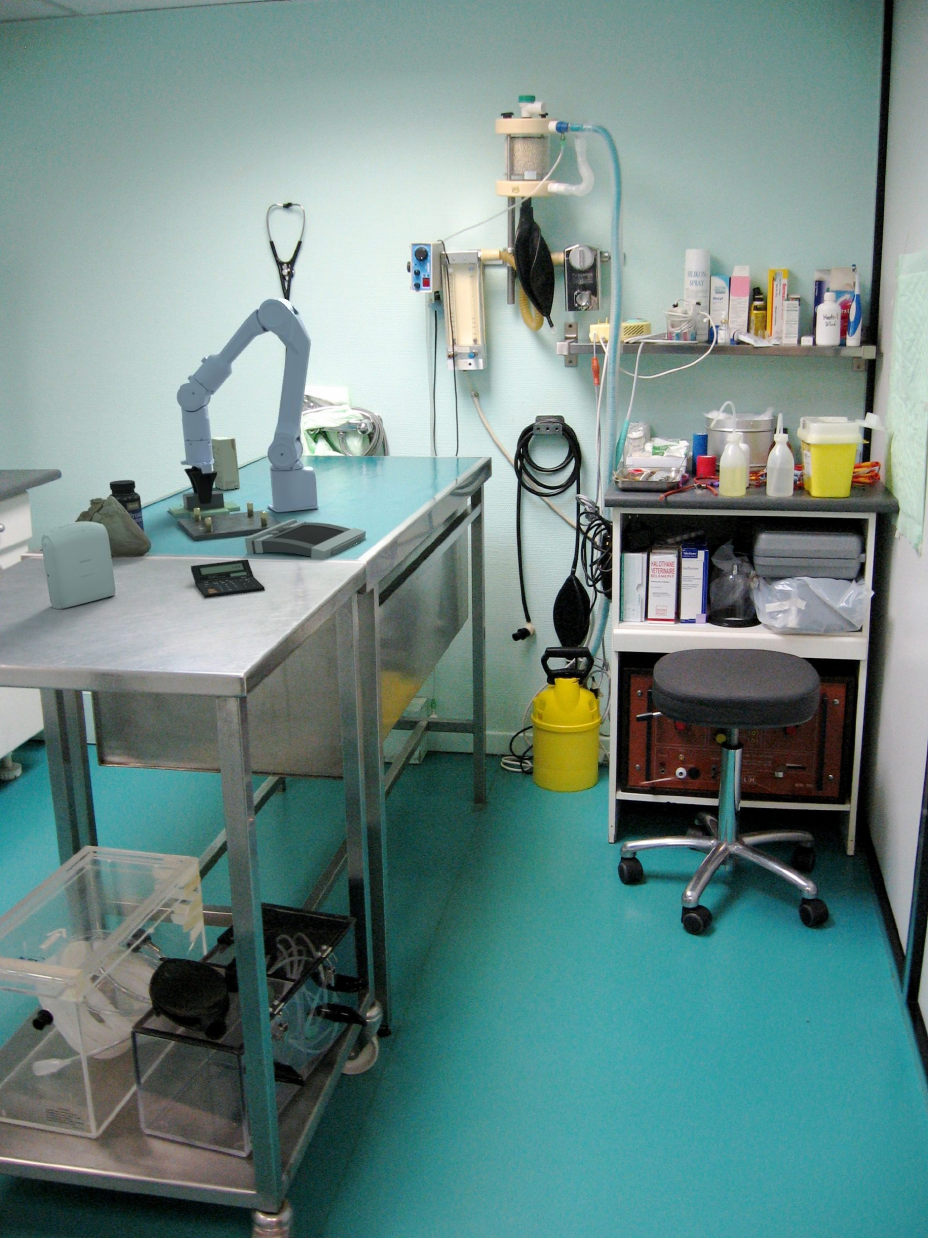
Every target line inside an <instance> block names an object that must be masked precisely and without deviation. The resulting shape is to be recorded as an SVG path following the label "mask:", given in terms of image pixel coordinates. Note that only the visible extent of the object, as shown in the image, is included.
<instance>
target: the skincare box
mask: <svg viewBox="0 0 928 1238" xmlns="http://www.w3.org/2000/svg"><path fill="white" fill-rule="evenodd" d="M211 442H212V453H213V459H214V463H213V464H212V471H217V476H216V478H215V481H214V487H215V488H216V487H217V488H216V489H219V488H220V490H223V491H224V490H225V491H227V489H228V490H234V489H235V488H237V489H240V488H241V486H240V485H241V483H240V473H239V464H238V463H239V461H238V454H237V453H238V452H237V443H236V438H235V437H230V436H219V437H218V436H217V437H211Z"/></svg>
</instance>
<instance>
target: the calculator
mask: <svg viewBox="0 0 928 1238" xmlns="http://www.w3.org/2000/svg"><path fill="white" fill-rule="evenodd" d="M251 567H252V566H251V565H250V562H249V559H248V558H247V559H245V558H244V559H239V560H230V561H222V562H213V563H204V564H196V565H190V571H191V574H192V577H193V580H194V583H195V584H194V585H195V587H196V588H197V589H198V591H199V592H200V594H201V595H202V596H203V597H204V599H210V598H217V597H218V598H219V597H225V596H226V597H227V596H233V595H243V594H248V593H255V592H257V593H259V592H263V591H264V592H265V589H266V588H265V586H264V585H263V584H262V583H261V581H259V580H258V579H257V578H256V577H255V576H254V573H253V570H252V568H251Z"/></svg>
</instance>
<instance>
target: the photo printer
mask: <svg viewBox="0 0 928 1238" xmlns="http://www.w3.org/2000/svg"><path fill="white" fill-rule="evenodd" d="M41 550H42V556H43V557H42V558H43V563H44V569H45V570H44V571H45V576H46V582H47V590H48V595H49V602H50V604H51V607H52V608H53V609H56V610H63V609H67V608H71V607H75V606H78V605H82V604H86V603H89V602H95V601H98V600H101V599H106V598H109V597H112V596H115V595H116V593H117V591H116V583H115V574H114V568H113V567H114V566H113V560H112V556H111V551H110V544H109V537H108V533H107V530H106V528H105V527H104V525H103V524H99V523H95V522H86V521H83V522H75V521H74V522H68V523H64V524H62V525H59V526H57V527H54V528H52V529H51V530H49V531H47V532H46V533H44V534H43V535H42V537H41Z"/></svg>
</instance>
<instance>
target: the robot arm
mask: <svg viewBox="0 0 928 1238" xmlns="http://www.w3.org/2000/svg"><path fill="white" fill-rule="evenodd" d="M269 332H271V333H273V334H274V335H276V336H277V338H278V339H279V340H280V341H281V342H282V344H283V345H284V346H285V347H286V352H285V354H286V355H285V362H284V370H283V376H282V386H281V392H280V393H281V394H280V401H279V402H280V403H279V409H278V417H277V423H276V427H275V430H274V435H273V439H272V442H271V443H270V445H269V446H268V448H267V459H268V461H269V463H270V464H271V465H270V466H269V473H270V485H271V486H270V487H271V496H272V498H271V499H272V504H267V508H269V509H270V510H272V511H273V512H276V513H287V512H294V511H304V510H305V511H306V510H315V509H319V503H318V491H317V477H316V473H315V470H314V468H313V467H312V466H304V463H303V462H302V461H301V460H300V459H301V458H302V456H303V452H304V445H303V442H302V440H301V436H302V428H301V422H302V413H303V406H304V398H305V390H306V385H307V377H308V376H307V375H308V368H309V363H310V355H311V354H310V352H311V346H312V343H311V337H310V335H309V333H308V331H307V329H306V326H305V324H304V322H303V319H302V317H301V313H300V311H299V310H298V309H297V308H296V307H295V305H293V304H292V302H290V300H287V299H285V298H282V297H281V298H280V297H279V298H268V299H266V300H264V301H263V302H261V304H260V306H259V307H258V308H255V310H253V312H252V313H250V314H249V316H248V317H246V319H245V320H244V321H243V323H242V324H241V325H240V326H239V328H238V329H237V330H236V331H235V332H234V334H233V336H231V338H230V339H229V341H228V342H227V343H226V344H225V345H224V347H223V348H222V350H220V352H219V353H210V354H209V356H203V358H201V360H200V362H201V363H202V364H201V365H200V366H199V367H198V369H196V371H195V372H194V373H193V374H190V375H189V376H188V377H187V380H188V382H186V383H183V384H180V386H179V389H178V390H177V393H176V400H177V404H178V405H179V407H180V408H181V409H180V410H181V417H182V418H181V422H182V424H181V425H182V433H183V435H182V436H183V442H184V445H183V446H184V453H185V455H184V456H185V460H180V464H181V465H182V466H190V467H188V468H184V472H185V473H186V475H187V477H188V479H189V482H190V484H191V487H192V490H193V493H198V497H199V500H200V503H201V504H208V503H211V499H212V491H214V490H213V489H214V485H215V482H214V481H215V478H216V476H217V471H213V463H214V459H213V453H212V442H211V438H212V435H211V434H212V433H211V424H210V423H211V422H210V416H209V409H208V408H209V407H208V405H209V403H210V401H211V398H212V396H213V395H215V393H216V392H217V391H218V390H219V389H220V388H221V386H223V384H224V383H225V381H226V380H227V379H228V378H229V377H230V376H231V375H232V373H233V369H232V365H233V362H234V361H236V360H237V358H238V357H239V356H240V355H241V354H242V353H243V351H245V350H246V348H247V347H248V346H249V345H250V344H251V343H252V341H253V340H254V339H255V338H256V337H258V336H261V335H264V334H266V333H269Z"/></svg>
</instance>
